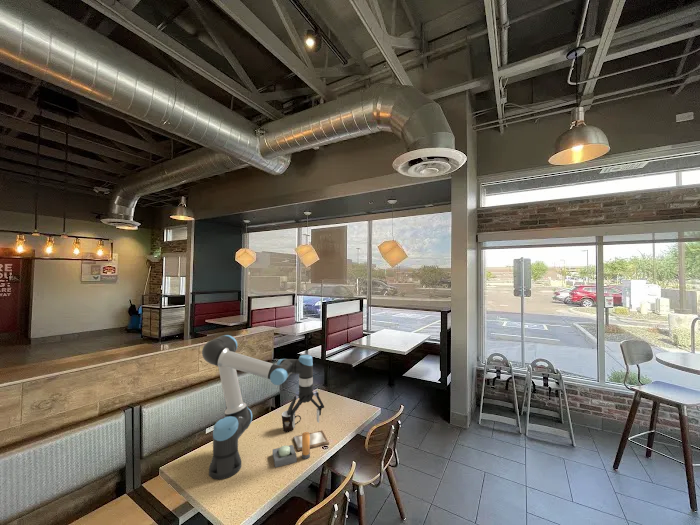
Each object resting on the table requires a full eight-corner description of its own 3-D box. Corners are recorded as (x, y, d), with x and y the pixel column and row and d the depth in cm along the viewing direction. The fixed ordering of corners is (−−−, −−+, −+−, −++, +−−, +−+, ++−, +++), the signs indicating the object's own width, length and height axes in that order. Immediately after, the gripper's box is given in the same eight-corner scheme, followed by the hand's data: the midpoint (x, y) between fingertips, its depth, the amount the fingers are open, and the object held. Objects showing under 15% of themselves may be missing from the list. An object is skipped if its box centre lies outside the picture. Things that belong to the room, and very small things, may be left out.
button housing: (275, 467, 147) (275, 461, 147) (272, 455, 157) (272, 449, 157) (296, 462, 151) (296, 456, 151) (292, 450, 161) (292, 444, 161)
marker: (302, 460, 152) (302, 436, 153) (301, 455, 156) (301, 432, 157) (310, 458, 154) (310, 435, 154) (308, 453, 158) (308, 431, 158)
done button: (279, 459, 150) (279, 453, 150) (277, 452, 155) (277, 447, 156) (291, 456, 152) (291, 450, 152) (289, 450, 158) (289, 444, 158)
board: (298, 451, 159) (298, 448, 160) (293, 438, 172) (293, 435, 173) (329, 444, 166) (329, 441, 166) (322, 432, 179) (322, 429, 179)
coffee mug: (278, 431, 181) (278, 414, 181) (287, 424, 188) (287, 409, 189) (293, 435, 175) (293, 419, 176) (301, 429, 183) (301, 413, 183)
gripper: (284, 390, 149) (284, 432, 148) (329, 383, 159) (329, 422, 158) (281, 385, 156) (281, 425, 155) (325, 378, 166) (325, 416, 165)
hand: (306, 424), depth 157 cm, fingers open, 13 cm apart
